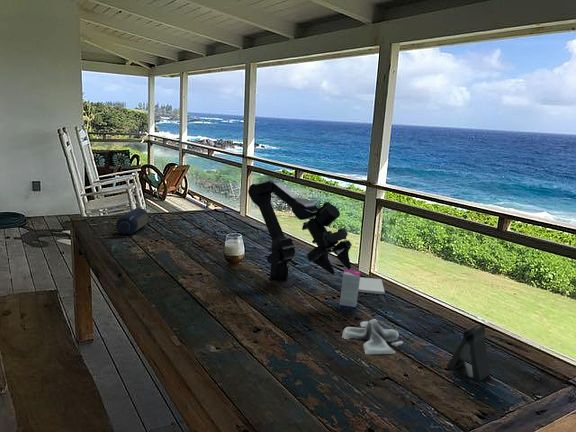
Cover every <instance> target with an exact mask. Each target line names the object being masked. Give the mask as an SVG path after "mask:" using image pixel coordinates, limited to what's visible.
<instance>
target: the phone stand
mask: <svg viewBox="0 0 576 432" xmlns="http://www.w3.org/2000/svg"><path fill="white" fill-rule="evenodd" d="M479 326H480V327H479ZM485 334H486V328H485V327H484V326H483V325H480V324H475V325H473V326H472V327H469V328H468V329H466V330H465V331H464V332H463V334H462V335H463V336H462V340H461V342H460V344H459V345H458V346H457V349H455V352H454V354H453V355H452V357H451V359H450V360H449V361H448V363H447V365H446V368H447V369H449V370H452V371H454V372H456V373H458V374H461V375H463V376H464V375H465V377H467V378H469V379H470V380H471V379H472V380H474V381H475V382H477V381H478V382H477V383H480V382H481V381H483V380H485V379H486V378H487V377H488V376H490V375H491V373H492V372H491V368H490V362H489V355H488V352H487V347H486V341H485ZM469 353H470V359H471V363H470V364H469V363H468V362H466V359H467V356H468V355H469Z"/></svg>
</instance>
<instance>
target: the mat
mask: <svg viewBox="0 0 576 432" xmlns="http://www.w3.org/2000/svg"><path fill="white" fill-rule="evenodd" d="M358 293H366V294H375V295H385V293H386V292H385V287H384V284H383V280H382V279H381V278H371V277H370V278H369V277H361V276H360V282H359V290H358Z"/></svg>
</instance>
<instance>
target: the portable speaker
mask: <svg viewBox="0 0 576 432" xmlns="http://www.w3.org/2000/svg"><path fill="white" fill-rule="evenodd" d="M149 220H150V214H149V212H148V211H147V210H146V209H144V208H141V207H137V208H134V209H132V210H130V211H128V212H126V213H123V214H122V215H120V216H119V217H118V219H117V220H116V222H115V227H116V229H117V231H118V233H120V234H122V235H126V234H128V235H132V234H134V233H135V232H137V231H138V230H140V229H141V228H143V227H145V226H146V224H148V223H149Z"/></svg>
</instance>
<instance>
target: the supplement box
mask: <svg viewBox="0 0 576 432" xmlns="http://www.w3.org/2000/svg"><path fill="white" fill-rule="evenodd" d="M360 277H361V271H359V270H351V269H350V270H349V269H347V268H346V269H344V270H343V274H342V280H341V281H342V282H341V290H340V297H339V307H343V308H350V309H357V303H358V297H359V292H358V290H359V282H360Z"/></svg>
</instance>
